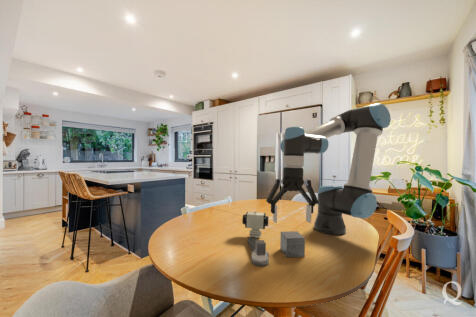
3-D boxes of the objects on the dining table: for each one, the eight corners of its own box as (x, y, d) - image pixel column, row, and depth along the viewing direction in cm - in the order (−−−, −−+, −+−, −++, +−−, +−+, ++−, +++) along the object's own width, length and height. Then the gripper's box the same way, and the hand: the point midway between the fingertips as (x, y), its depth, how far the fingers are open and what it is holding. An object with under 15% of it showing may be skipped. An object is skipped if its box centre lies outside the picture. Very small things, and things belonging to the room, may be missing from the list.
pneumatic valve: (267, 240, 90) (268, 213, 90) (241, 237, 92) (242, 211, 92) (268, 235, 95) (268, 210, 95) (244, 233, 97) (244, 208, 97)
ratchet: (258, 241, 87) (258, 225, 88) (270, 266, 68) (271, 245, 68) (244, 242, 87) (244, 226, 87) (253, 266, 67) (253, 245, 67)
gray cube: (296, 248, 82) (297, 231, 82) (304, 256, 75) (304, 237, 75) (280, 249, 81) (280, 231, 81) (286, 257, 74) (286, 238, 74)
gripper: (318, 167, 83) (317, 218, 83) (259, 165, 80) (258, 218, 80) (328, 168, 76) (327, 224, 75) (264, 166, 73) (262, 224, 73)
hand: (291, 221), depth 78 cm, fingers open, 13 cm apart
